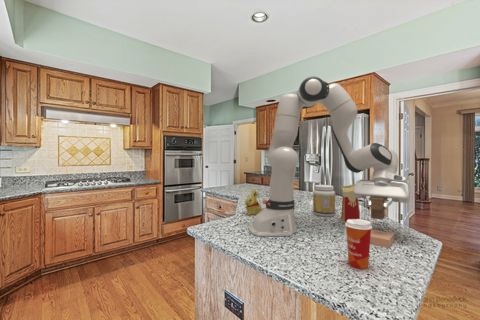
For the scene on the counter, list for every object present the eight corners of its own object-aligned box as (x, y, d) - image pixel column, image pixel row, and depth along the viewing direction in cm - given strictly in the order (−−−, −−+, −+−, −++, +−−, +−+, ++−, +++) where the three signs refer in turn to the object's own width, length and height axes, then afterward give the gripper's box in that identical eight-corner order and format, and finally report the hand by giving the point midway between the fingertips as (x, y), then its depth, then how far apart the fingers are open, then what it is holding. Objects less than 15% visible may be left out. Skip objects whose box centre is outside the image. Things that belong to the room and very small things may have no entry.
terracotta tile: (389, 248, 89) (389, 240, 89) (360, 241, 96) (360, 234, 95) (394, 240, 96) (394, 233, 96) (367, 235, 103) (367, 228, 103)
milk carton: (358, 219, 127) (358, 182, 126) (360, 224, 118) (361, 184, 118) (339, 218, 130) (339, 182, 129) (341, 223, 121) (341, 184, 121)
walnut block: (382, 219, 93) (382, 199, 93) (371, 218, 96) (371, 198, 95) (384, 217, 96) (384, 198, 96) (373, 216, 99) (373, 197, 98)
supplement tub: (311, 211, 145) (311, 184, 145) (332, 212, 144) (332, 184, 143) (315, 216, 133) (315, 187, 133) (337, 217, 132) (337, 187, 131)
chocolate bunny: (243, 214, 140) (243, 189, 139) (260, 212, 144) (259, 188, 143) (248, 217, 133) (247, 190, 133) (265, 215, 137) (265, 189, 137)
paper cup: (340, 260, 79) (340, 218, 79) (362, 259, 80) (362, 218, 79) (353, 271, 71) (354, 225, 71) (377, 270, 72) (378, 225, 72)
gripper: (355, 175, 107) (348, 199, 100) (410, 177, 94) (406, 206, 87) (358, 183, 111) (351, 208, 104) (412, 187, 97) (408, 215, 90)
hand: (377, 207), depth 95 cm, fingers closed on walnut block, 4 cm apart
